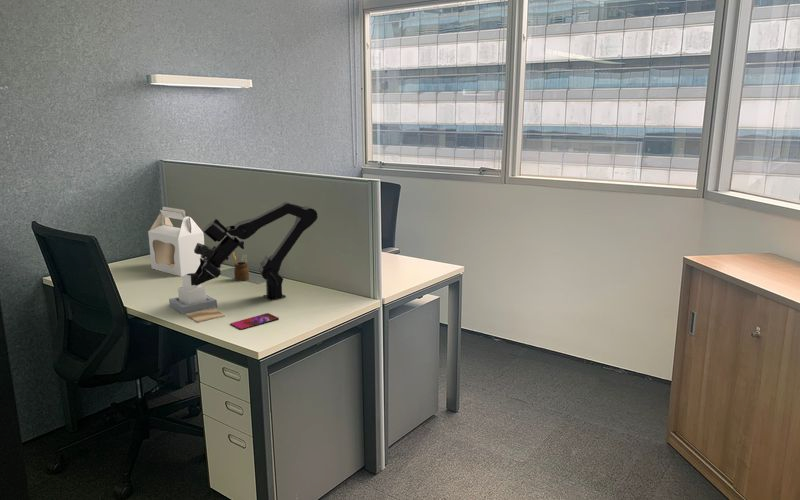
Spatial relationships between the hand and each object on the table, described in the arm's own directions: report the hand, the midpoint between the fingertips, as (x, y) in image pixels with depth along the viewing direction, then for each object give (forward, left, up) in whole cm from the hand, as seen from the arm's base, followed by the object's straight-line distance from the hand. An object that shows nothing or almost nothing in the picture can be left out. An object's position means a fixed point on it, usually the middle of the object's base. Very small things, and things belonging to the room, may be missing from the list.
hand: (194, 281), depth 217 cm
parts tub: (0, +1, -9) cm, 9 cm away
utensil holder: (+21, -29, -9) cm, 37 cm away
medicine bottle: (0, +1, -9) cm, 10 cm away
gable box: (+54, -15, -9) cm, 57 cm away
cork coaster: (-13, +2, -9) cm, 16 cm away
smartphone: (-30, -8, -10) cm, 32 cm away
